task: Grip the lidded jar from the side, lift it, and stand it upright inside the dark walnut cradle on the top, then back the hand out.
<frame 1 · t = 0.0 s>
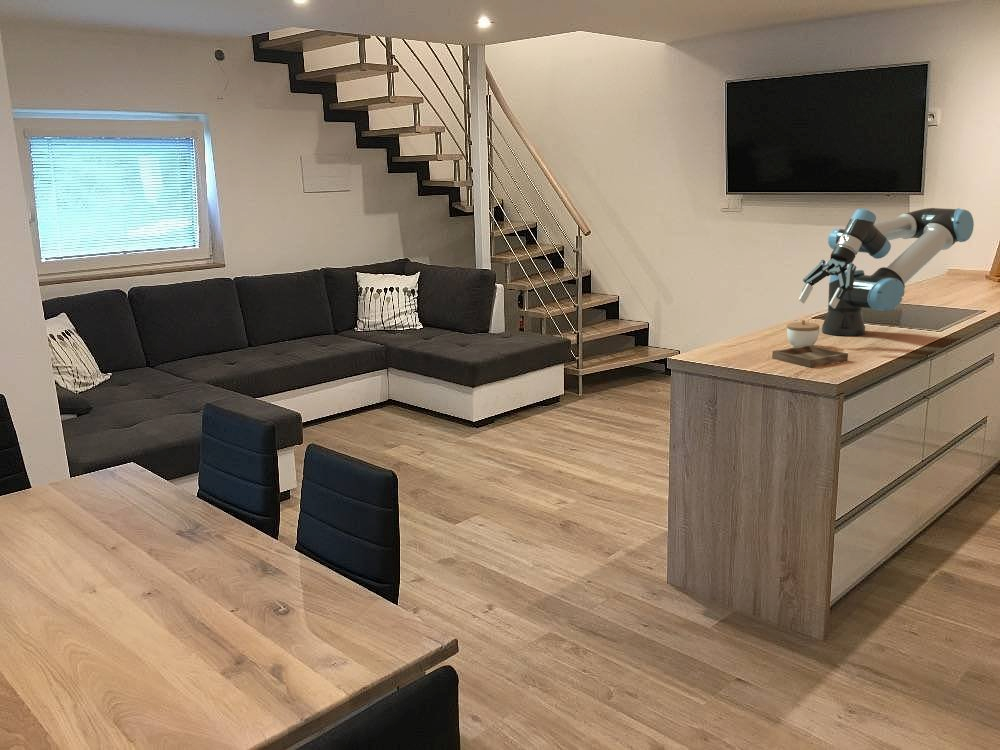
hand: (816, 304, 299), 15 cm above the table, tool tilted 35°, fingers open, 13 cm apart
lidded jar: (801, 347, 305), on the table
walnut cradle: (809, 359, 285), on the table
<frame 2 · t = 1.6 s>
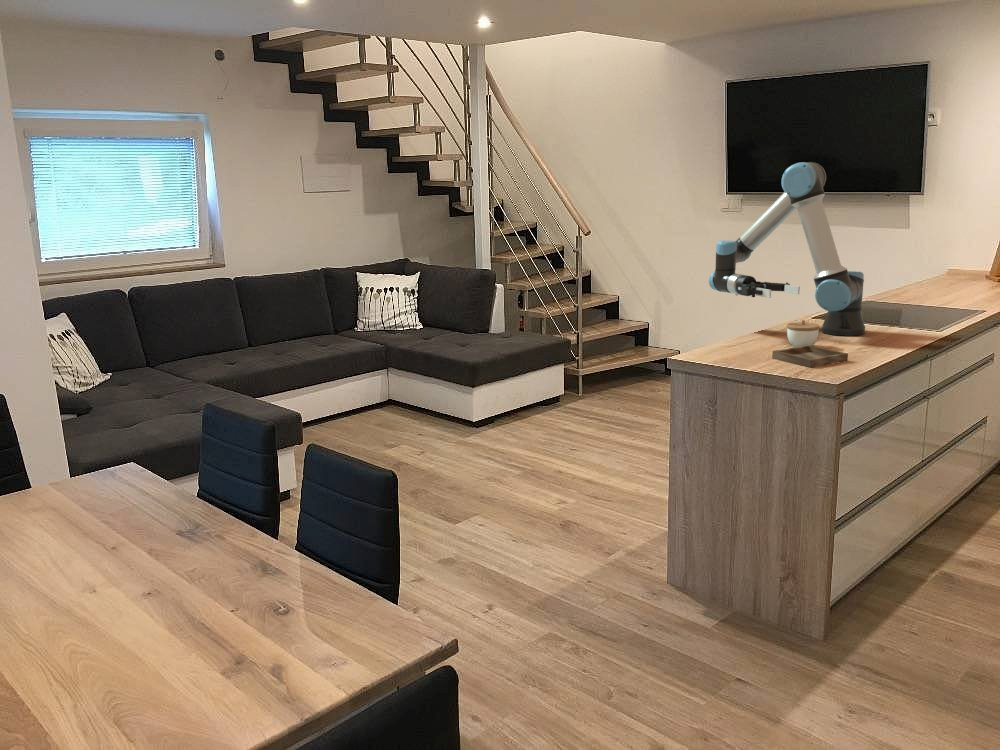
hand: (784, 292, 309), 18 cm above the table, tool horizontal, fingers open, 13 cm apart
nothing on the table moved.
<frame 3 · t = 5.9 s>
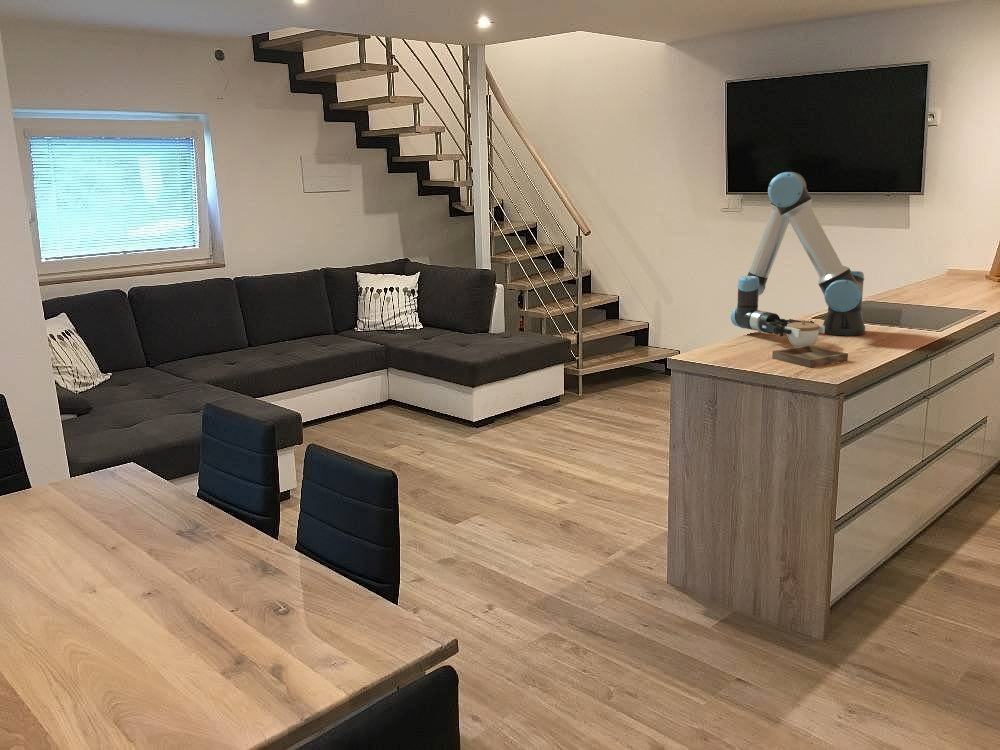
hand: (811, 331, 300), 6 cm above the table, tool horizontal, fingers closed on lidded jar, 11 cm apart
lidded jar: (801, 347, 305), on the table, touching gripper
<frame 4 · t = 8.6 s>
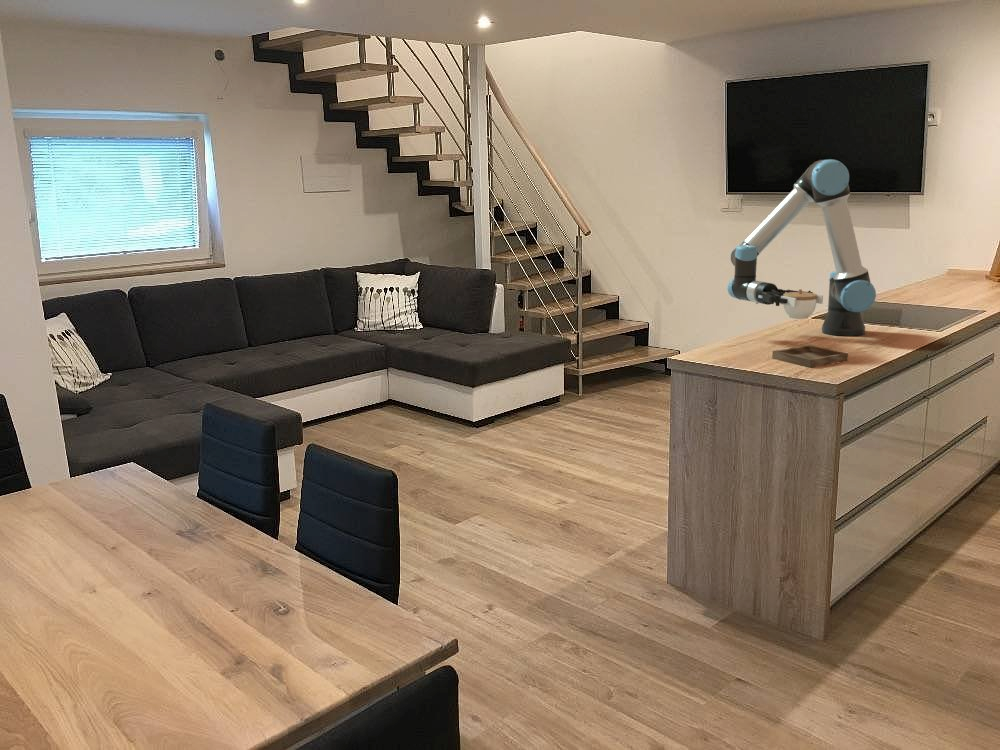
hand: (808, 301, 288), 18 cm above the table, tool horizontal, fingers closed on lidded jar, 11 cm apart
lidded jar: (798, 317, 293), point 12 cm above the table, touching gripper
when the fingers open (8 cm above the table, at t = 11.6 s): lidded jar drops 1 cm, resting on walnut cradle.
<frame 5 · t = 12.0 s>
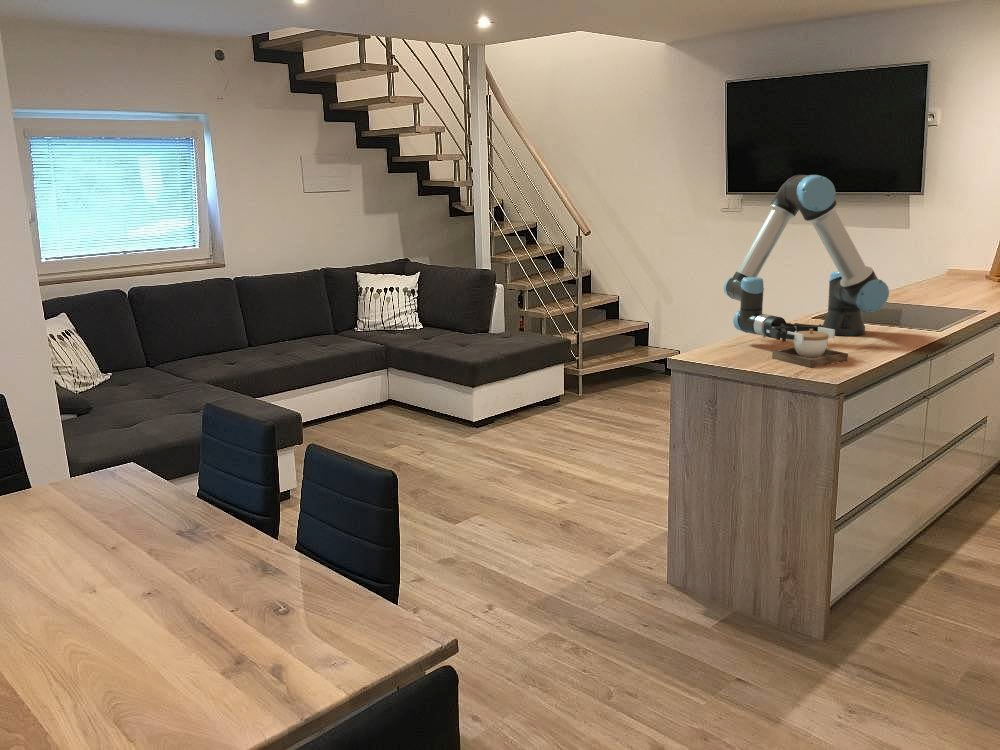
hand: (818, 336, 281), 8 cm above the table, tool horizontal, fingers open, 13 cm apart
lidded jar: (809, 357, 285), point 1 cm above the table, touching walnut cradle
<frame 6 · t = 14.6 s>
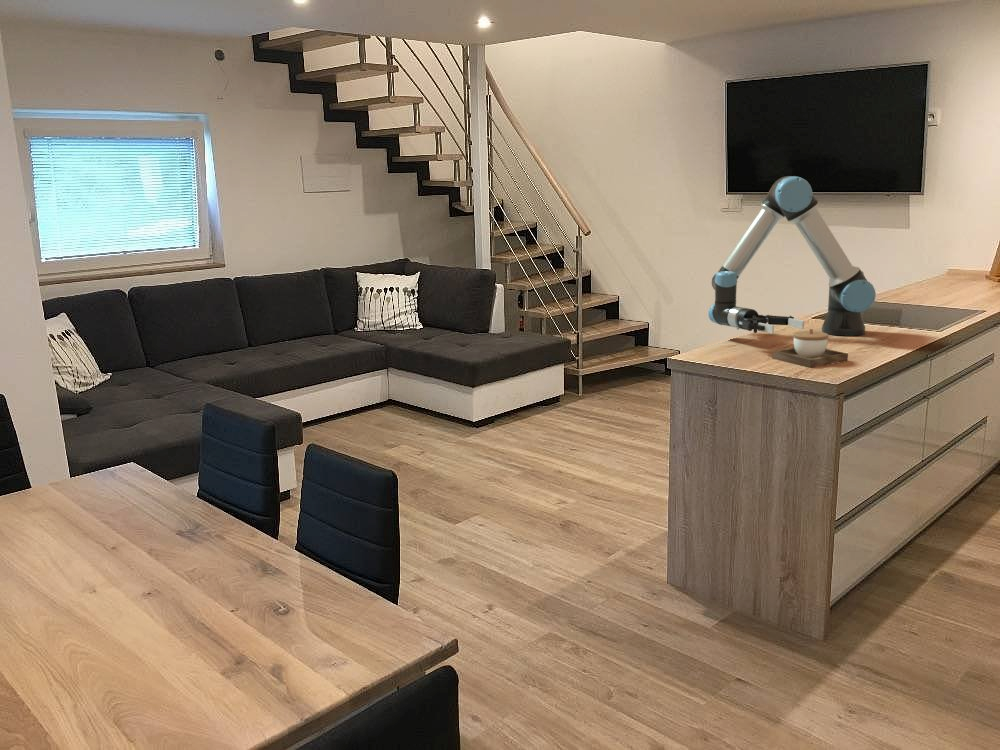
hand: (788, 327, 292), 9 cm above the table, tool horizontal, fingers open, 13 cm apart
nothing on the table moved.
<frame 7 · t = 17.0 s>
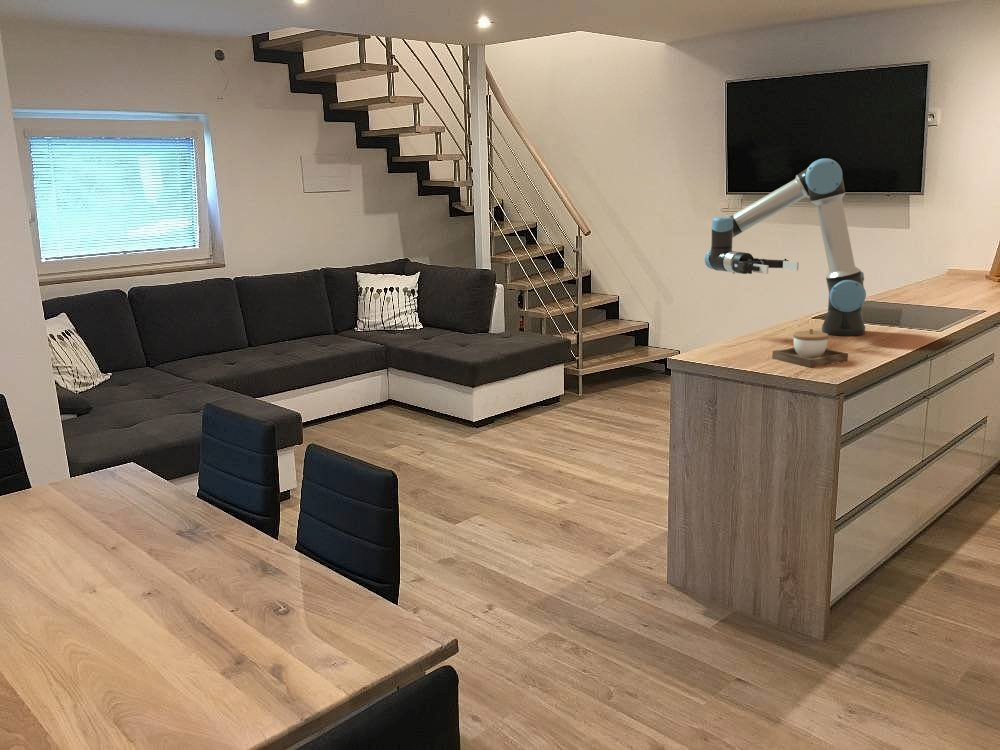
hand: (782, 268, 296), 28 cm above the table, tool horizontal, fingers open, 13 cm apart
nothing on the table moved.
at the end: lidded jar 0.1 cm off-centre on the walnut cradle, point 0.6 cm above the walnut cradle's base; lidded jar tilted 0°; the gripper is holding nothing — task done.
